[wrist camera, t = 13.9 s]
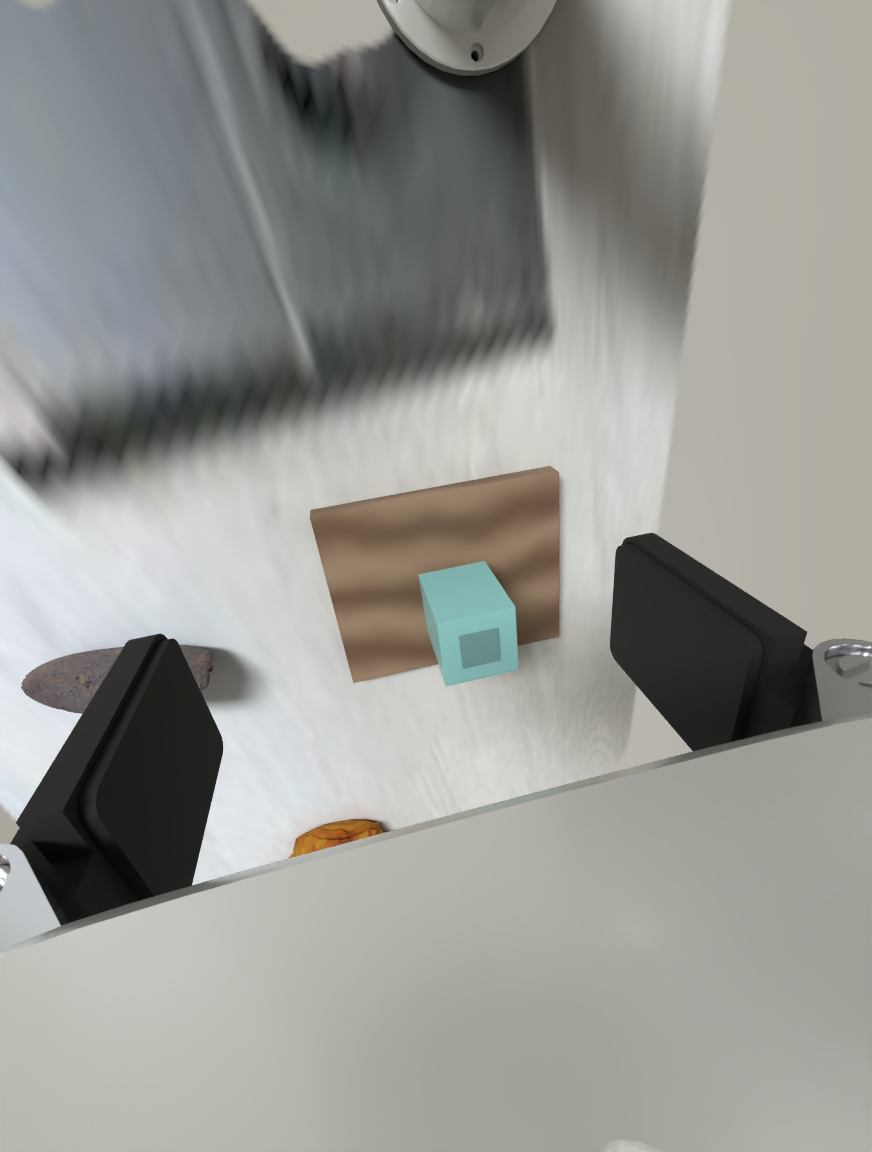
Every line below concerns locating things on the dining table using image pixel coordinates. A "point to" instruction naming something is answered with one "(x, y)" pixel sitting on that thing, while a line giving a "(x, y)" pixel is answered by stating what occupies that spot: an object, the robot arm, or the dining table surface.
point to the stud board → (438, 561)
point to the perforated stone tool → (93, 676)
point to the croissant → (335, 835)
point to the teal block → (469, 622)
